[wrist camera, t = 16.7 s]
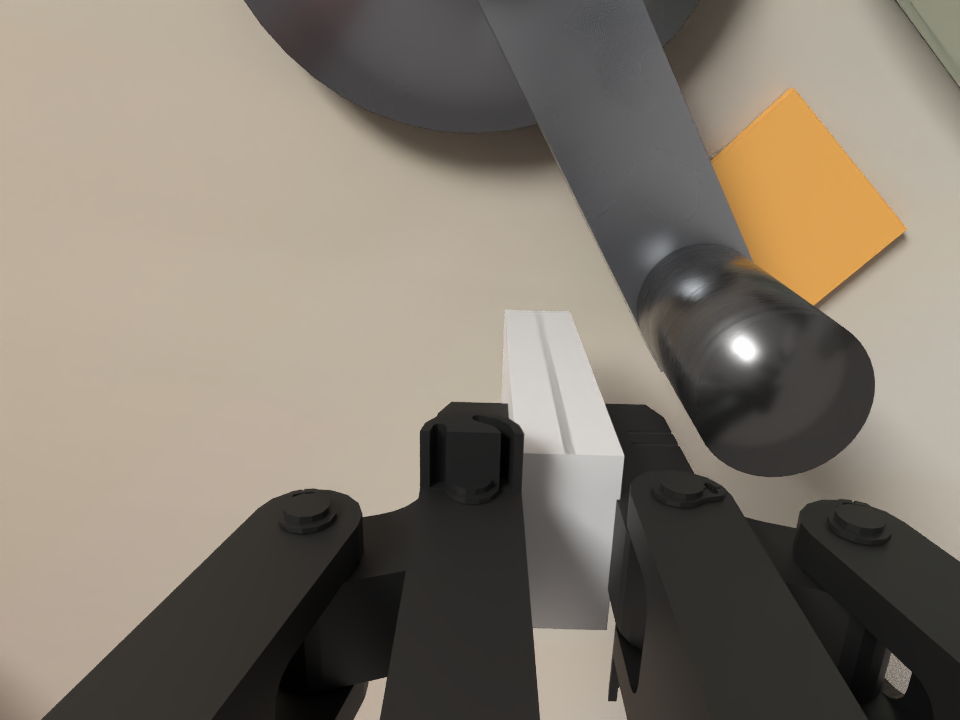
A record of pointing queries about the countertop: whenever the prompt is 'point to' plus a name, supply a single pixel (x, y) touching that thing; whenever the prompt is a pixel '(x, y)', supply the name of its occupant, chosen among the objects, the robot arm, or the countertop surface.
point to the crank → (681, 240)
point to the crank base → (417, 57)
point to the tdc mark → (802, 200)
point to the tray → (938, 29)
